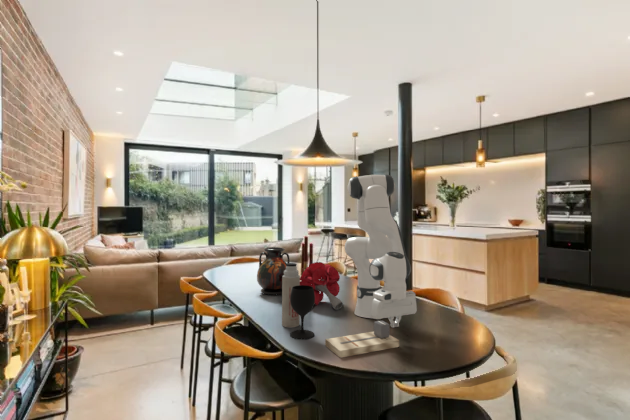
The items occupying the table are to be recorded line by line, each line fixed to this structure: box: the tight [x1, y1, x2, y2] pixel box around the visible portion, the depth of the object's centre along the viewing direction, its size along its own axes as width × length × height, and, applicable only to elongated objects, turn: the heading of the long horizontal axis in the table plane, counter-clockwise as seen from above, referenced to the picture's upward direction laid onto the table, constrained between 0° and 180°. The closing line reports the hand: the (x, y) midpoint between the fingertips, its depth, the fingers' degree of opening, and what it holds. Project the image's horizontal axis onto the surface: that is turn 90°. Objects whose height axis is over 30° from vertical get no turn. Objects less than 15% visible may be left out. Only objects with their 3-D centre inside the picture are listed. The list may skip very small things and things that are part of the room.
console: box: [324, 330, 400, 359], centre depth 135 cm, size 26×12×3 cm, turn 114°
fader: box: [373, 320, 391, 338], centre depth 139 cm, size 4×5×5 cm
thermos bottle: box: [281, 262, 301, 328], centre depth 159 cm, size 8×8×28 cm
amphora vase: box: [256, 246, 291, 296], centre depth 218 cm, size 22×22×28 cm
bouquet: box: [300, 261, 343, 311], centre depth 192 cm, size 22×24×30 cm
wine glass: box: [289, 285, 315, 340], centre depth 146 cm, size 10×10×20 cm
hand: (394, 326), depth 141 cm, fingers closed
